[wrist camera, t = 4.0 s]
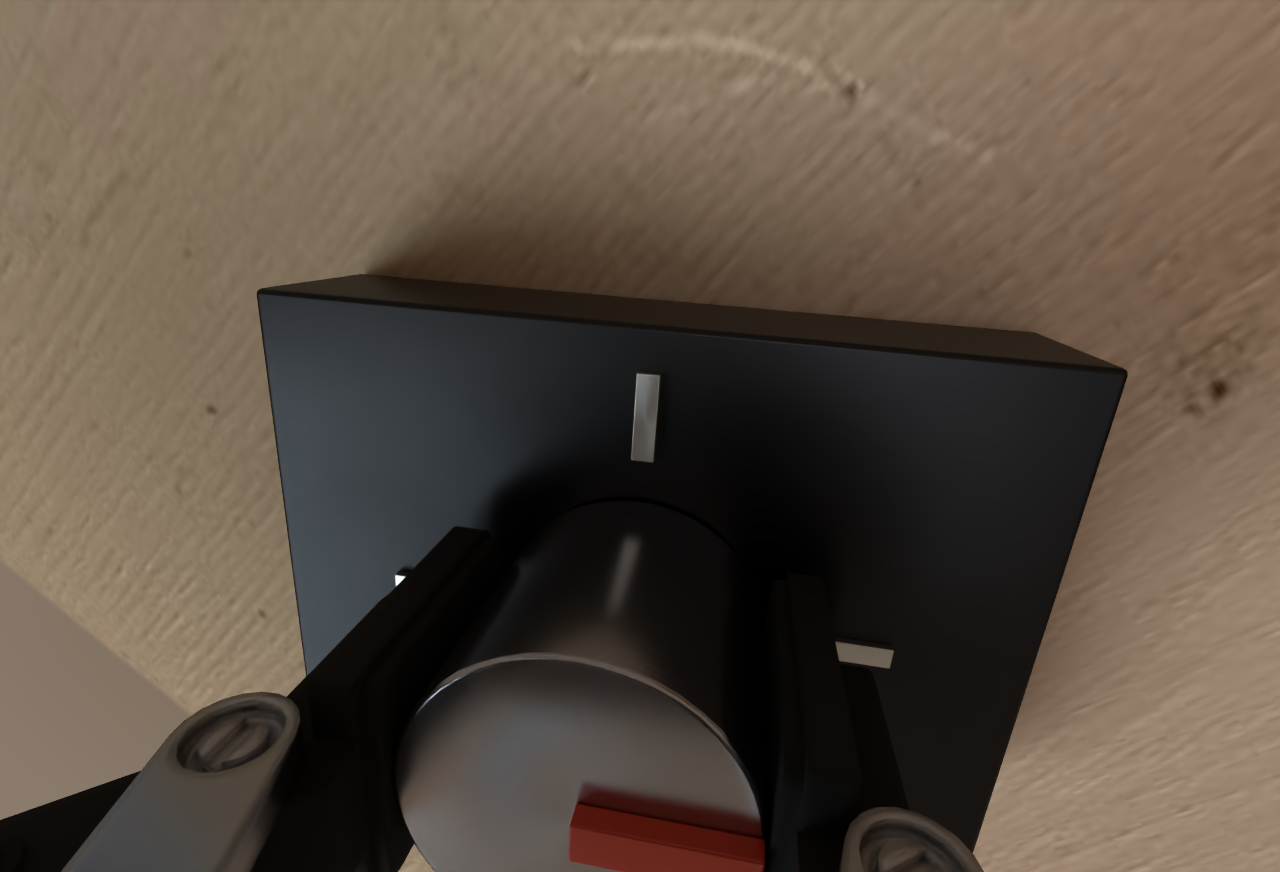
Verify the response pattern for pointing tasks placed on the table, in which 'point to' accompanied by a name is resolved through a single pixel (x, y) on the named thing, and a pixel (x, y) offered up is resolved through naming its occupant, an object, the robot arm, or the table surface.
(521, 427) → the hob knob base
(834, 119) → the table surface
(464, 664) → the hob knob
